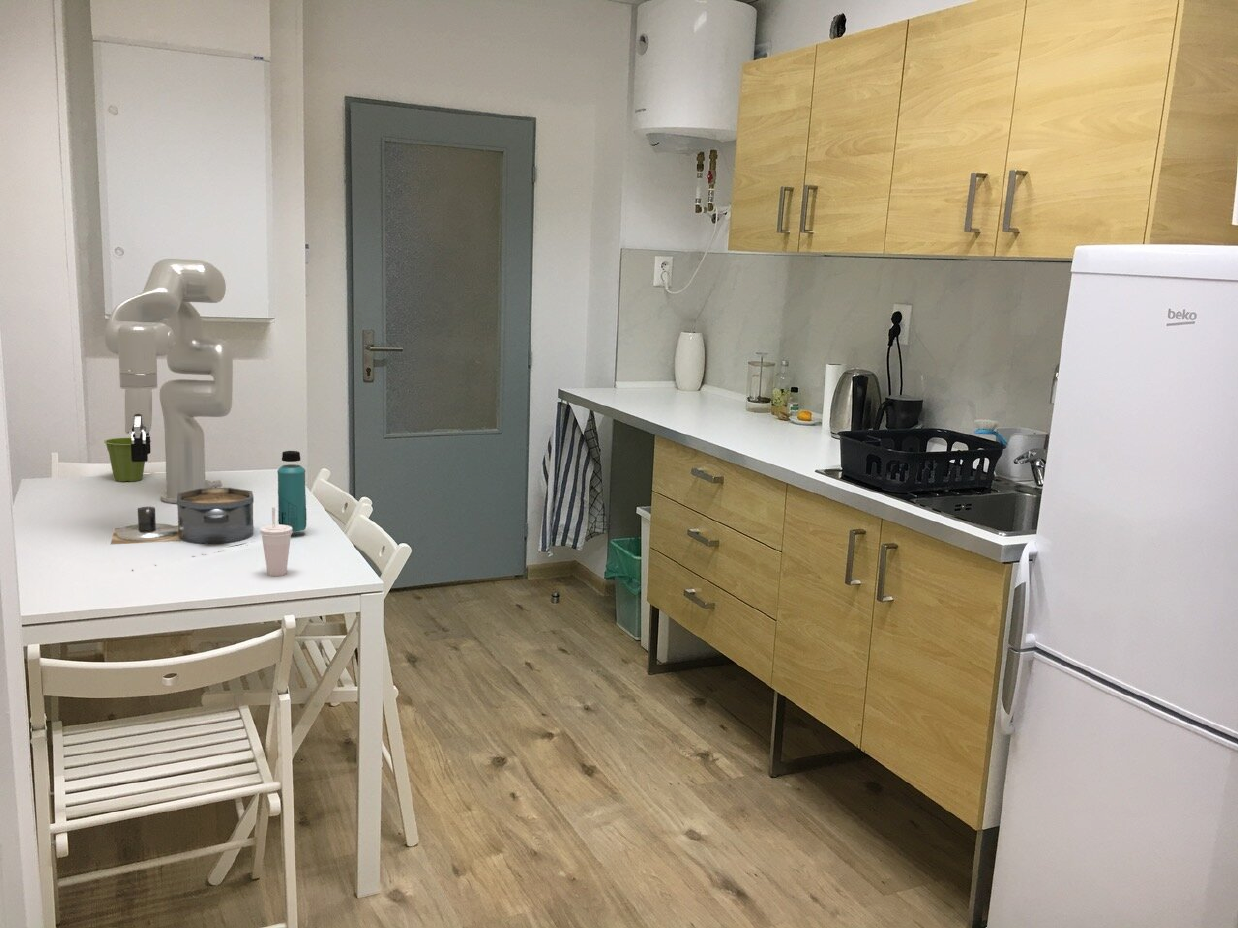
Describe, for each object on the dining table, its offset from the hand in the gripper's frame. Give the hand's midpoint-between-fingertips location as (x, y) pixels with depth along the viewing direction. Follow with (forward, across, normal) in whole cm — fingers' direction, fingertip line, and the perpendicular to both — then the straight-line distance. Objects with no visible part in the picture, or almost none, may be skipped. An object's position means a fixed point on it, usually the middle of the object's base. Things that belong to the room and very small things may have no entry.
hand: (141, 457), depth 227 cm
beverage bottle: (+19, +2, +32) cm, 37 cm away
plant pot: (+18, -67, -8) cm, 70 cm away
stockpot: (+19, +3, +15) cm, 24 cm away
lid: (+18, 0, +1) cm, 18 cm away
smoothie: (+19, +33, +27) cm, 47 cm away
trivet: (+19, 0, +1) cm, 19 cm away
